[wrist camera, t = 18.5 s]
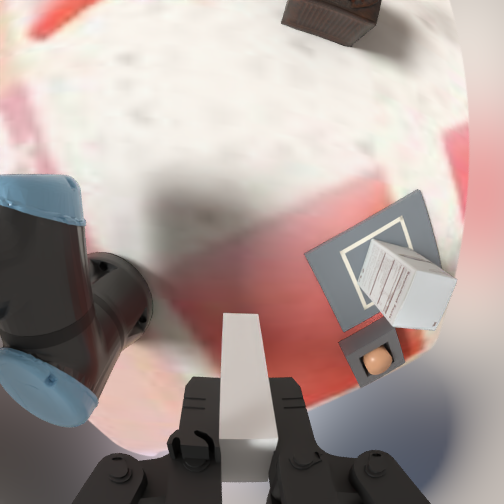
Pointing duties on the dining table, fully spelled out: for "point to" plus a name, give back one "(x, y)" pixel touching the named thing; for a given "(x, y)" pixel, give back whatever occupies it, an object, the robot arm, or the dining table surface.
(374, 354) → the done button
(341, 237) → the slate board
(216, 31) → the dining table surface
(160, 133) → the dining table surface
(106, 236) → the dining table surface
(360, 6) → the manual coffee grinder
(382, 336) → the button housing
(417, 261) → the supplement box
